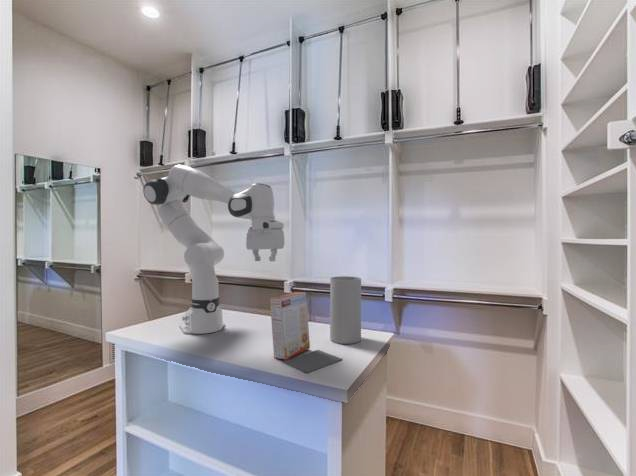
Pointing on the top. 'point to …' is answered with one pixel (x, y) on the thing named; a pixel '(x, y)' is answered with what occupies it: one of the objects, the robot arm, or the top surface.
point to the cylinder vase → (345, 309)
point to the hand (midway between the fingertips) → (264, 261)
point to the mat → (312, 361)
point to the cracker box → (289, 325)
